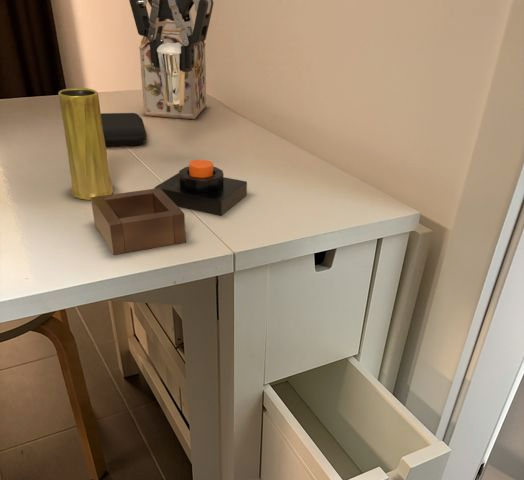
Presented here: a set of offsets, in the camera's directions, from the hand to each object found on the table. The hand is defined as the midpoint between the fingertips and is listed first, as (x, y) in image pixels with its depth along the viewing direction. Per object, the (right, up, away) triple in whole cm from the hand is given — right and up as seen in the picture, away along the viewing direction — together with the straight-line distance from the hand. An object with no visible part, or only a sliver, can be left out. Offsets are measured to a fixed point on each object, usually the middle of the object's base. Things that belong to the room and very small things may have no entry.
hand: (172, 68), depth 90 cm
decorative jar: (-5, +8, +35) cm, 37 cm away
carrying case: (-14, -4, +18) cm, 23 cm away
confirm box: (+5, -22, -5) cm, 24 cm away
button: (+5, -20, -7) cm, 22 cm away
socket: (-2, -30, -16) cm, 34 cm away
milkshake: (0, -4, +3) cm, 6 cm away
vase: (-11, -22, -5) cm, 25 cm away
